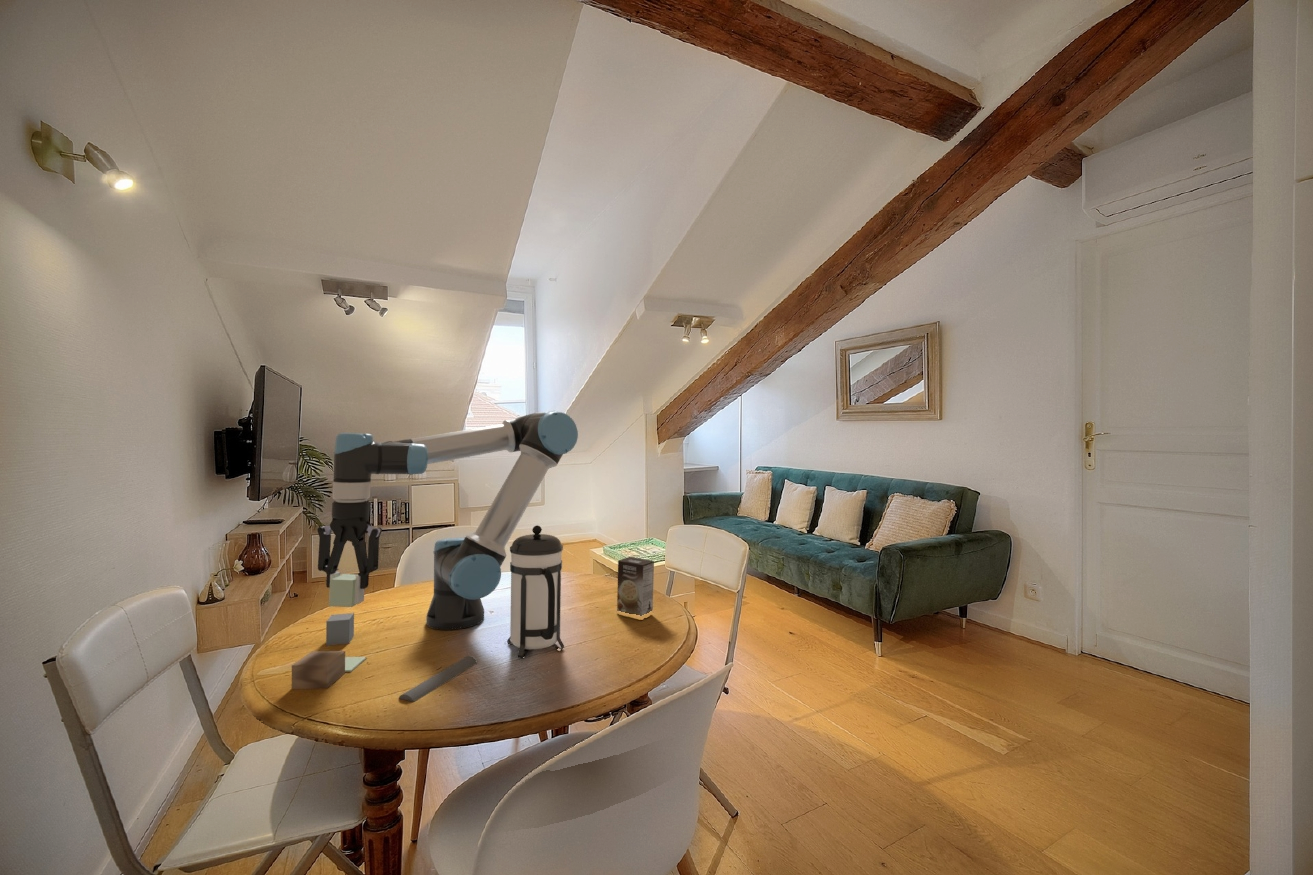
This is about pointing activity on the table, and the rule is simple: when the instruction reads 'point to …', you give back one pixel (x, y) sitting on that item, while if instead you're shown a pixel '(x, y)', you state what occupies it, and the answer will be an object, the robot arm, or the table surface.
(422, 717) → the table surface
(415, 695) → the slim gray ramp strip
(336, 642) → the gray block
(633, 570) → the coffee box
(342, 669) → the walnut base
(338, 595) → the sage block
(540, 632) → the coffee press
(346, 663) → the tile
